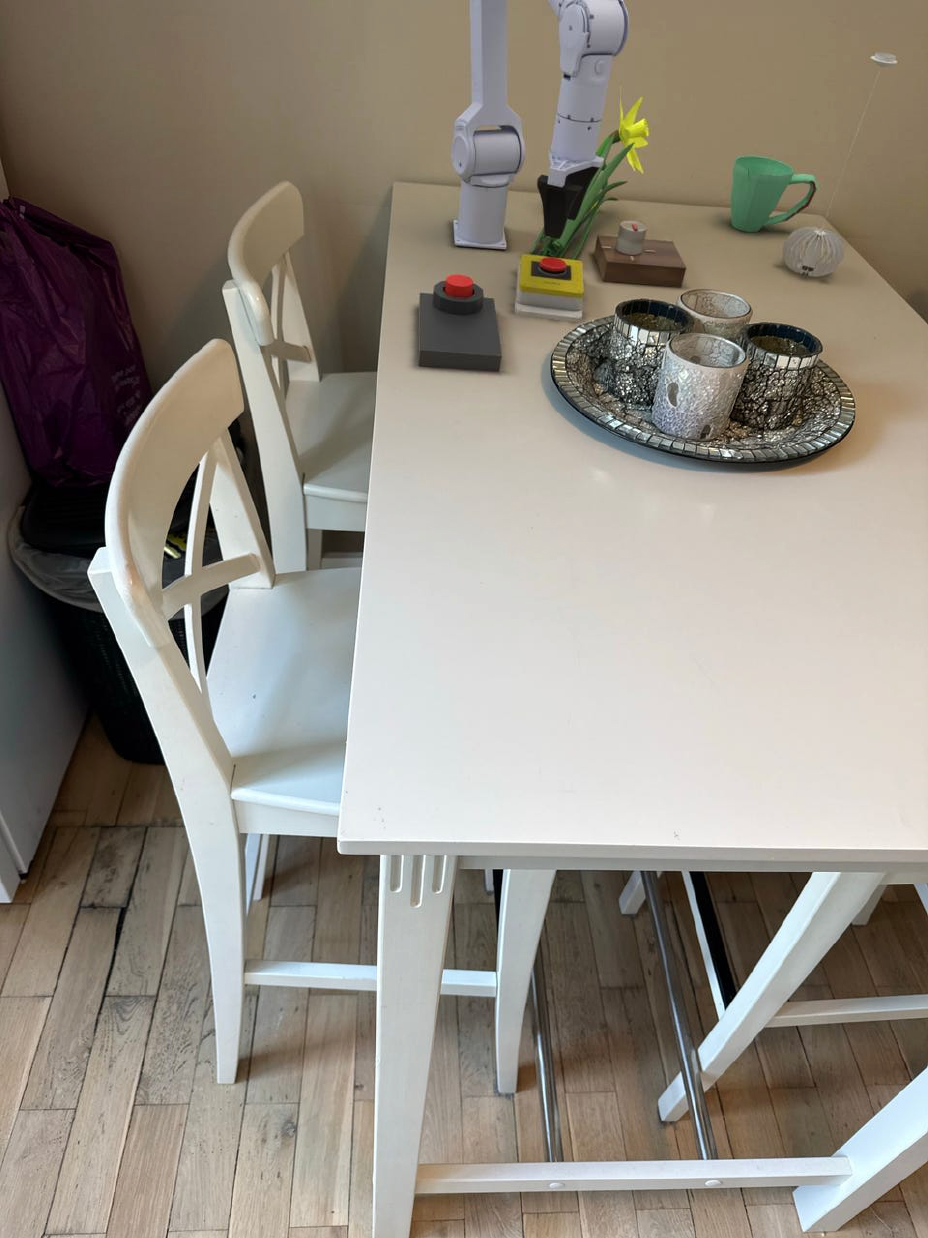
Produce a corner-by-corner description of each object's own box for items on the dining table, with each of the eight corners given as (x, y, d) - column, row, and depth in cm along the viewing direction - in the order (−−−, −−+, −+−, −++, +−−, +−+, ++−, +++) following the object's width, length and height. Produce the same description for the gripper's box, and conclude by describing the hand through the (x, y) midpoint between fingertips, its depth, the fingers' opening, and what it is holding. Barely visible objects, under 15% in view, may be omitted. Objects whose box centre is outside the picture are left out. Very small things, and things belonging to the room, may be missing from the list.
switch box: (418, 305, 120) (420, 276, 117) (491, 310, 121) (495, 282, 118) (418, 366, 108) (420, 335, 105) (499, 371, 109) (503, 341, 106)
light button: (444, 286, 117) (445, 273, 115) (471, 288, 117) (472, 275, 116) (445, 298, 114) (446, 284, 113) (472, 300, 114) (474, 287, 113)
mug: (720, 232, 150) (738, 170, 143) (714, 212, 157) (731, 152, 151) (805, 244, 150) (828, 182, 143) (796, 223, 157) (817, 163, 150)
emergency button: (584, 248, 128) (587, 292, 117) (579, 278, 131) (581, 323, 121) (521, 240, 128) (518, 283, 117) (517, 270, 131) (514, 314, 120)
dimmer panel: (593, 254, 138) (597, 233, 136) (667, 260, 140) (673, 240, 137) (602, 281, 131) (606, 260, 129) (681, 287, 132) (686, 266, 130)
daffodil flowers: (481, 250, 137) (556, 132, 154) (552, 312, 141) (618, 190, 158) (541, 176, 123) (617, 55, 140) (618, 247, 127) (683, 121, 144)
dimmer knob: (613, 243, 134) (618, 217, 132) (638, 245, 135) (644, 219, 132) (617, 253, 132) (622, 227, 129) (643, 255, 132) (649, 229, 129)
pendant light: (828, 262, 145) (910, 51, 124) (840, 285, 139) (928, 67, 118) (773, 255, 145) (844, 42, 125) (782, 278, 139) (859, 57, 118)
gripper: (596, 136, 103) (575, 252, 113) (623, 108, 114) (602, 216, 123) (539, 124, 105) (523, 239, 114) (571, 97, 115) (553, 205, 124)
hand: (560, 227), depth 119 cm, fingers open, 7 cm apart
